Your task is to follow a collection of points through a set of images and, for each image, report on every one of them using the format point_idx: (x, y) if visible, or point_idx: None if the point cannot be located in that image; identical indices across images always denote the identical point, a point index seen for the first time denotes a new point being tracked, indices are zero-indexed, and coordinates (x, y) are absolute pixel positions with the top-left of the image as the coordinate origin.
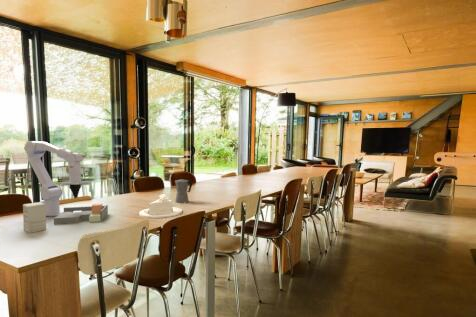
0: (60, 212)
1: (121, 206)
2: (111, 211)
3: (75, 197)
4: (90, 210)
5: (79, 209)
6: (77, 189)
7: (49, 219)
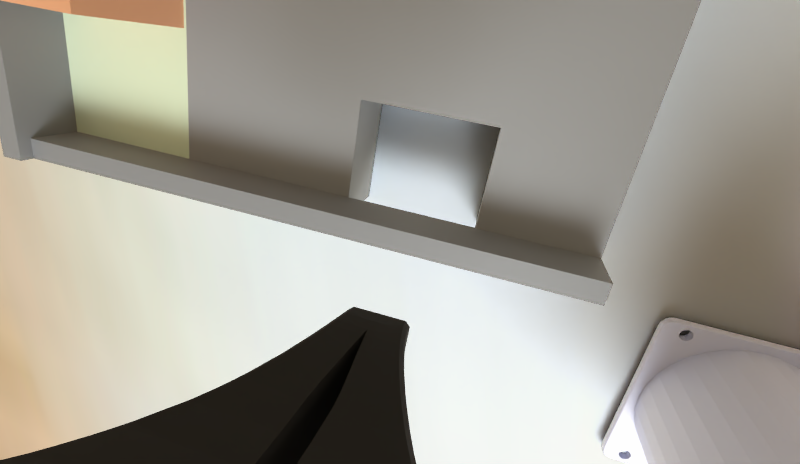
0: (624, 426)
1: (85, 402)
2: (116, 246)
3: (370, 317)
4: (244, 148)
5: (379, 210)
6: (134, 437)
7: (790, 152)
